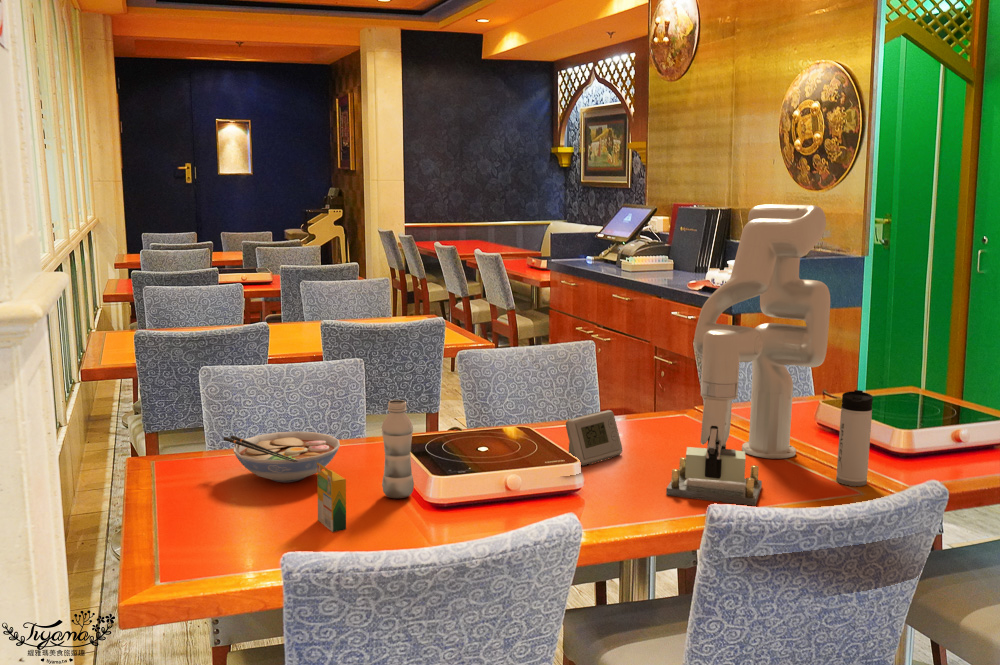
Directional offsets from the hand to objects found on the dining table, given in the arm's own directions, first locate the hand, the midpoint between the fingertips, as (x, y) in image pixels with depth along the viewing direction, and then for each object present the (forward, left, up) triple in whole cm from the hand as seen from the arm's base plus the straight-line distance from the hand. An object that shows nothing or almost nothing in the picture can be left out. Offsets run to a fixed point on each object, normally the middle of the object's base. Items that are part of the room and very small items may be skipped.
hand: (715, 471), depth 192 cm
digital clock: (-13, -30, -5) cm, 33 cm away
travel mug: (-18, +27, -4) cm, 33 cm away
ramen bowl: (+27, -88, -4) cm, 92 cm away
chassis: (0, 0, -4) cm, 4 cm away
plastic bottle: (+29, -60, -4) cm, 67 cm away
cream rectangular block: (0, 0, -1) cm, 1 cm away
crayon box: (+48, -64, -5) cm, 80 cm away
